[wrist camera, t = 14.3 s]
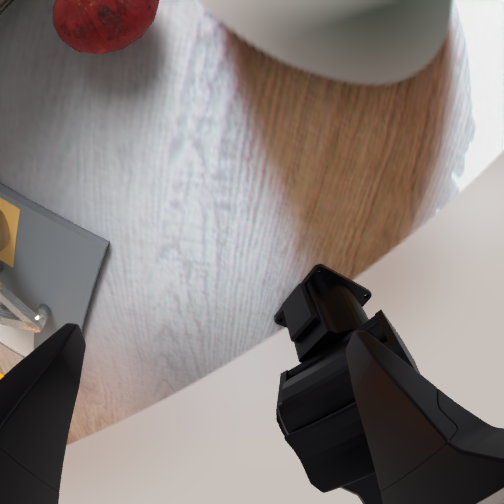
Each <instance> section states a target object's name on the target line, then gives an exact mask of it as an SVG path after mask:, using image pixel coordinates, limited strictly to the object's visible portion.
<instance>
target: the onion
mask: <svg viewBox="0 0 504 504" xmlns="http://www.w3.org/2000/svg"><path fill="white" fill-rule="evenodd" d="M158 4H159V0H56V2H55V4H54V9H53V23H54V27H55V29H56V31H57V33H58V35H59V36H60V38H61V39H62V40H63V41H64V42H65V43H66V44H68V45H69V46H71V47H72V48H74V49H75V50H77V51H79V52H86V53H94V54H102V53H107V52H111V51H116V50H120V49H123V48H125V47H126V46H128V45H129V44H131V43H132V42H134V41H135V40H137V39H139V38H140V37H141V36H142V35H143V34H144V32H145V31H146V30H147V29H148V27H149V26H150V25H151V24H152V22H153V21H154V19H155V15H156V11H157V8H158Z"/></svg>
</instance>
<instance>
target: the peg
mask: <svg viewBox="0 0 504 504" xmlns="http://www.w3.org/2000/svg"><path fill="white" fill-rule="evenodd" d="M9 236H10V232H9V226H8V222H7V220H6V217H5V215H4V214H3V212H2V211H1V210H0V252H1V251H2V250H3V249H4V248H5V247H6V245H7V244H8V241H9Z"/></svg>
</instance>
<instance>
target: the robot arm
mask: <svg viewBox="0 0 504 504" xmlns="http://www.w3.org/2000/svg"><path fill="white" fill-rule="evenodd" d="M320 269H321V271H320V272H318V270H320ZM366 294H367V295H366ZM365 295H366V296H365ZM370 298H371V292H370V291H369V290H368V289H366V288H364V287H362V286H361V285H359V284H357V283H355V282H354V281H352V280H350V279H348V278H346V277H344V276H343V275H341V274H339V273H337V272H335V271H334V270H332V269H330V268H328V267H326V266H324V265H322V264H318V265H316V266H315V267H314V268H313V269H312V270H311V271H310V273H309V274H308V275H307V277H306V278H305V279H304V280H303V282H302V283H300V284H299V285H298V286H297V287H296V289H295V290H294V291H293V292H292V294H291V295H290V296H289V297H288V298H287V300H286V301H285V302H284V303H283V305H282V307H281V308H280V310H279V311H278V312H277V313H276V315H275V316H274V320H275V322H276V323H277V324H279V325H282V326H284V327H287V328H288V330H289V334H290V338H291V341H293V342H294V343H295V347H296V351H297V355H298V359H299V362H301V364H299V365H298V366H296V367H294V368H293V369H291V370H289V371H288V370H287V371H285V372H283V373H281V377H280V385H279V393H278V401H277V409H276V415H277V422H278V424H279V427H280V429H281V431H282V433H283V434H284V436H285V440H286V441H287V443H288V444H289V445H290V446H291V447H292V449H293V450H294V451H295V453H296V454H297V456H298V457H299V459H300V461H301V463H302V465H303V467H304V469H305V471H306V474H307V476H308V478H309V480H310V483H311V484H312V485H313V486H315V487H316V488H317V489H319V490H320V491H322V492H324V493H325V492H328V491H331V490H334V489H337V488H342V489H345V490H347V491H349V492H351V493H353V494H356V495H357V496H358V497H359V498H360V500H361V501H362V503H363V504H504V429H503V428H496V427H493V426H491V425H489V424H487V423H485V422H484V421H482V420H481V419H479V418H478V417H476V416H475V415H473V414H472V413H470V412H469V411H467V410H466V409H464V408H463V407H461V406H460V405H459V404H457V403H456V402H454V401H453V400H452V399H451V398H449V397H448V396H447V395H445V394H444V393H443V392H442V391H440V390H439V389H437V388H436V387H435V386H434V385H433V384H432V383H430V382H429V381H428V380H427V379H425V378H424V377H423V376H422V375H420V372H419V370H418V368H417V366H416V363H415V361H414V359H413V358H412V356H411V354H410V353H409V351H408V349H407V347H406V346H405V344H404V342H403V341H402V339H401V338H400V336H399V335H398V333H397V332H396V330H395V329H394V327H393V326H392V324H391V323H390V322H389V320H388V319H387V317H386V316H385V314H384V313H383V312H382V310H380V311H378V312H377V313H376V314H375V316H374V317H372V318H371V319H368V317H367V315H366V313H365V312H364V310H363V308H362V307H363V306H364V304H365V303H366V302H367V301H368V300H369V299H370ZM279 318H281V319H279ZM85 346H86V345H85V340H84V337H83V334H82V331H81V329H80V326H79V325H78V324H75V323H66V324H65V325H63V326H62V327H61V328H60V329H59V330H57V331H56V332H55V333H54V334H52V335H51V336H50V337H49V338H48V339H46V340H45V341H44V342H43V343H42V344H40V345H39V346H38V347H37V348H36V349H34V350H33V351H32V352H31V353H30V354H28V355H27V356H26V357H25V358H24V359H23V360H21V361H20V362H19V363H18V364H17V365H16V366H15V367H13V368H12V369H11V370H10V371H9V372H8V373H7V374H5V375H4V376H3V377H2V378H1V379H0V504H58V499H59V488H60V481H61V474H62V467H63V461H64V455H65V449H66V443H67V438H68V433H69V428H70V423H71V419H72V414H73V410H74V406H75V402H76V397H77V393H78V389H79V384H80V377H81V371H82V365H83V359H84V353H85Z"/></svg>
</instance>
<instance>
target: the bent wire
mask: <svg viewBox="0 0 504 504" xmlns="http://www.w3.org/2000/svg"><path fill="white" fill-rule="evenodd" d="M2 271H3V266H2V264H1V262H0V273H1V272H2ZM8 309H9V310H10V311H8ZM50 315H51V310H50V308H49V307H48V306H47V305H45V304H40V305H39V307H38V308H37V310H36V311H35V313H34V312H33V311H32V310H31V309H30V308H29V307H27V306H26V305H25V304H24V303H23V302H22V301H21V300H20V299H19V298H17V297H16V296H15V295H14V294H13V293H12V292H11V291H10V290H9V289H8V288H7V287H6V286H5V285H4V284H3V283H2V282H1V281H0V324H1V325H6V326H10V327H15V328H20V329H25V330H30V331H35V332H36V333H37V332H41V330H42V329H43V327H44V325H45V323H46V322H47V320H48V318H49V316H50Z"/></svg>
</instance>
